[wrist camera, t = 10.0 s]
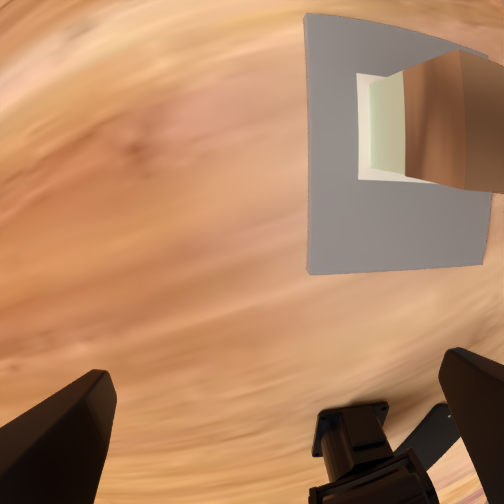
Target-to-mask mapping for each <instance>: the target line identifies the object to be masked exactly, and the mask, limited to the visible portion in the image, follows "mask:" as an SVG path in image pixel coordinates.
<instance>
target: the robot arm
mask: <svg viewBox="0 0 504 504" xmlns="http://www.w3.org/2000/svg"><path fill="white" fill-rule="evenodd" d="M438 378H439V382H440V385H441V387H442V390H443V392H444V395H445V398H446V400H447V403H448V406H449V409H450V412H451V414H452V417H453V420H454V422H455V425H456V427H457V429H458V431H459V433H460V435H461V438H462V440H463V442H464V444H465V447H466V449H467V451H468V453H469V456H470V458H471V460H472V463H473V465H474V467H475V470H476V472H477V475H478V477H479V479H480V482H481V484H482V487H483V490H484V492H485V495H486V497H487V500H488V503H489V504H504V365H502V364H500V363H497V362H495V361H493V360H490V359H488V358H485V357H483V356H480V355H478V354H476V353H473V352H471V351H468V350H466V349H463V348H461V347H456V348H451V349H448V350H447V351H446V352H445V355H444V358H443V361H442V364H441V367H440V370H439V374H438ZM116 404H117V395H116V391H115V389H114V386H113V383H112V380H111V377H110V374H109V373H108V371H106V370H99V369H93V370H91V371H89V372H88V373H86V374H84V375H83V376H81V377H80V378H78V379H77V380H75V381H74V382H72V383H70V384H69V385H67V386H66V387H64V388H63V389H61V390H59V391H58V392H56V393H55V394H53V395H52V396H50V397H48V398H47V399H45V400H44V401H42V402H41V403H39V404H37V405H36V406H34V407H33V408H31V409H29V410H28V411H26V412H25V413H23V414H22V415H20V416H18V417H17V418H15V419H14V420H12V421H10V422H9V423H7V424H6V425H4V426H2V427H1V428H0V504H94V500H95V496H96V492H97V489H98V485H99V481H100V477H101V474H102V470H103V467H104V463H105V460H106V456H107V452H108V448H109V443H110V437H111V431H112V425H113V420H114V414H115V409H116ZM388 409H389V405H388V403H387V402H380V403H375V404H369V405H363V406H357V407H351V408H344V409H336V410H329V411H322V412H320V413H319V414H318V417H317V423H316V429H315V435H314V441H313V446H312V452H311V453H312V456H313V457H324V461H325V465H326V469H327V473H328V477H329V482H330V483H328V484H325V485H322V486H319V487H313V488H310V489H309V495H310V496H309V497H308V503H309V504H439V500H438V496H437V493H436V491H435V488H434V486H433V484H432V481H431V479H430V478H429V476H428V474H427V472H426V471H425V469H424V467H423V465H422V464H421V462H420V460H419V459H418V457H417V455H416V454H415V452H414V450H413V449H412V447H411V448H409V449H407V450H406V451H405V452H403V453H401V454H399V455H397V456H394V453H393V451H392V449H391V447H390V444H389V442H388V440H387V437H386V435H385V433H384V430H383V428H382V427H383V424H384V421H385V418H386V415H387V412H388ZM324 416H325V417H324Z"/></svg>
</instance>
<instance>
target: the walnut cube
mask: <svg viewBox="0 0 504 504" xmlns="http://www.w3.org/2000/svg"><path fill="white" fill-rule="evenodd" d="M402 73H403V86H404V105H405V176H406V177H411V178H415V179H420V180H424V181H429V182H433V183H437V184H442V185H446V186H450V187H454V188H458V189H462V190H469V191H480V192H491V193H500V194H504V66H502V65H499V64H497V63H495V62H492V61H490V60H487V59H485V58H482V57H480V56H477V55H474V54H472V53H469V52H466V51H463V50H460V49H457V50H455V51H452V52H449V53H446V54H444V55H441V56H438V57H436V58H433V59H431V60H428V61H425V62H423V63H420V64H418V65H415V66H413V67H411V68H408V69H406V70H403V71H402Z"/></svg>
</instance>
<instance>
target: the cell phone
mask: <svg viewBox="0 0 504 504" xmlns="http://www.w3.org/2000/svg"><path fill="white" fill-rule="evenodd" d="M460 437H461V435H460V433H459V431H458V429H457V427H456V425H455V422H454V420H453V417H452V414H451V412H450V409H449V406H448V404H443V403H440V404H436V405H435V406H434V407H433V408H432V409H431V411H430V412H429V413H428V414H427V416H426V417H425V418H424V419H423V420H422V421H421V423H420V424H419V425H418V426H417V427H416V428H415V430H414V431H413V432H412V433H411V434H410V435H409V436H408V437H407V438H406V440H405V441H404V442H403V443H402V444H401V445H400V446H399V447H398V448H397V449H396V450H395V451H394V452H393V453H394V456H397V455H399V454H401V453H403V452H405V451H406V450H407V449H409V448H411V447H412V449H413V450H414V452H415V454H416V455H417V457H418V459H419V460H420V462H421V464H422V465H423V467H424V469H425V471H427V470H428V469H429V468H430V467H432V466H433V465H434V464H435V463H436V462H437V461H438V460H439V459H440V458H441V457H442V456H443V455H444V454H445V453H446V452H447V450H448V449H449V448H450V447H451V446H452V445H453V444H454V443H455V442H456V441H457V440H458V439H459V438H460Z"/></svg>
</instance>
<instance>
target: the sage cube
mask: <svg viewBox="0 0 504 504" xmlns="http://www.w3.org/2000/svg"><path fill="white" fill-rule="evenodd" d="M369 100H370V168H372V169H378V170H384V171H389V172H395V173H400V174H405V105H404V86H403V73H402V71H400V72H398V73H396V74H393V75H391V76H389V77H386V78H384V79H382V80H380V81H377V82H375V83H373V84H371V85H369Z"/></svg>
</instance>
